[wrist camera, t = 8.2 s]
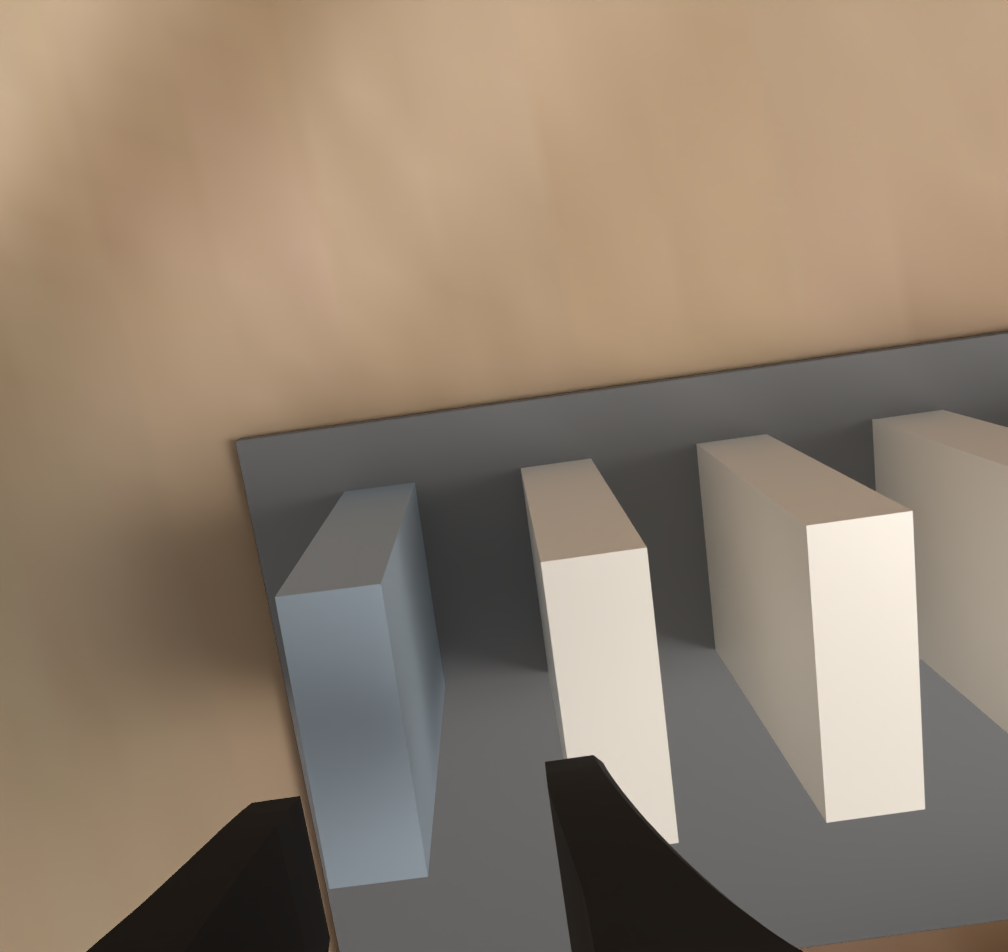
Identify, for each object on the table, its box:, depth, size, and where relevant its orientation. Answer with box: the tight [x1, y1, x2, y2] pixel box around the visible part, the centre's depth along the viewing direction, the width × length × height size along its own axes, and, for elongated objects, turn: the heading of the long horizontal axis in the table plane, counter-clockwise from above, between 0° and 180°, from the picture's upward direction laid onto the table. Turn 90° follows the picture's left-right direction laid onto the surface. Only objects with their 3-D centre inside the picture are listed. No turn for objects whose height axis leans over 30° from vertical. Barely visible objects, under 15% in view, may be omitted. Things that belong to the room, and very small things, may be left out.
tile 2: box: [872, 410, 1008, 733], centre depth 17 cm, size 2×5×7 cm, turn 8°
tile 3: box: [696, 434, 925, 823], centre depth 17 cm, size 2×5×7 cm, turn 8°
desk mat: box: [236, 331, 1008, 952], centre depth 22 cm, size 22×15×1 cm
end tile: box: [275, 483, 445, 889], centre depth 17 cm, size 2×5×7 cm, turn 7°
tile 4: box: [521, 458, 679, 844], centre depth 17 cm, size 2×5×7 cm, turn 8°
